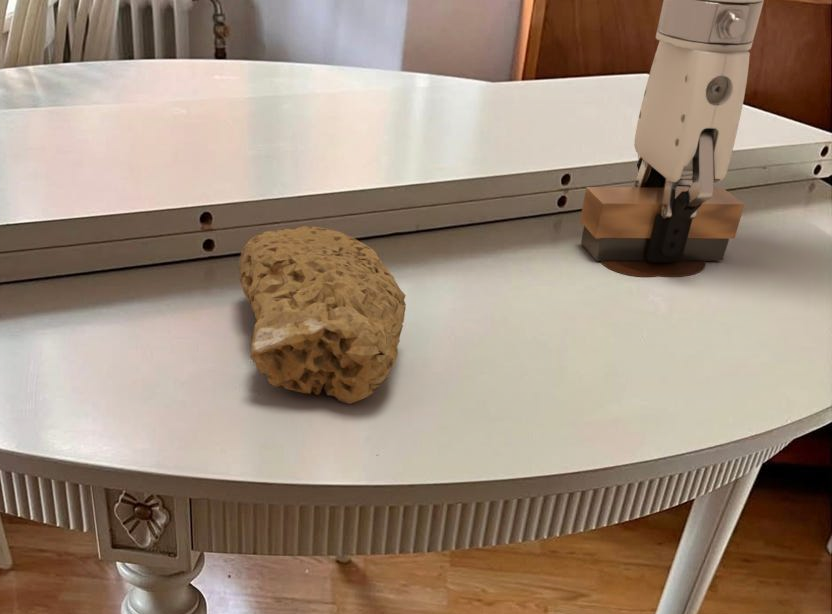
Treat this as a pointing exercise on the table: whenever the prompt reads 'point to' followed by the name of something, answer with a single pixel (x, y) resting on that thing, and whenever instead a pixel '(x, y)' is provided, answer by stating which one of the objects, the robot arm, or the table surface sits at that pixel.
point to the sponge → (321, 311)
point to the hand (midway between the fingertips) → (652, 248)
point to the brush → (634, 218)
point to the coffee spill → (655, 268)
